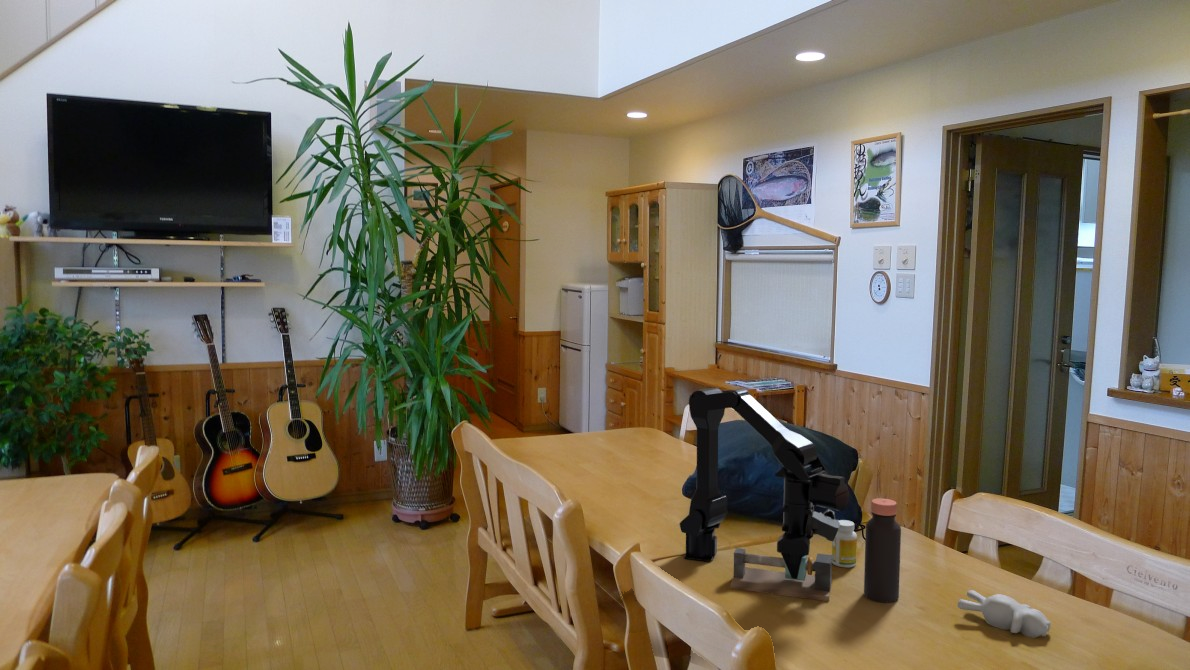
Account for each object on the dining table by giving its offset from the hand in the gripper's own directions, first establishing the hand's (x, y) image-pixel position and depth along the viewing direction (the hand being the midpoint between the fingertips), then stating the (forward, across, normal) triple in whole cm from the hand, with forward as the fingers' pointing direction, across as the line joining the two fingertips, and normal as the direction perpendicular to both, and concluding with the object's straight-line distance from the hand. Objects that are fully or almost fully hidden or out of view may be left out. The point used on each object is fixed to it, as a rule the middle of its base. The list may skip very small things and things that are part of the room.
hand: (796, 572), depth 169 cm
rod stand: (+3, 0, +3) cm, 4 cm away
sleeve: (+1, 0, 0) cm, 1 cm away
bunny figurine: (+4, -5, -39) cm, 39 cm away
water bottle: (+3, +1, -17) cm, 17 cm away
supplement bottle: (+3, +17, -9) cm, 20 cm away
